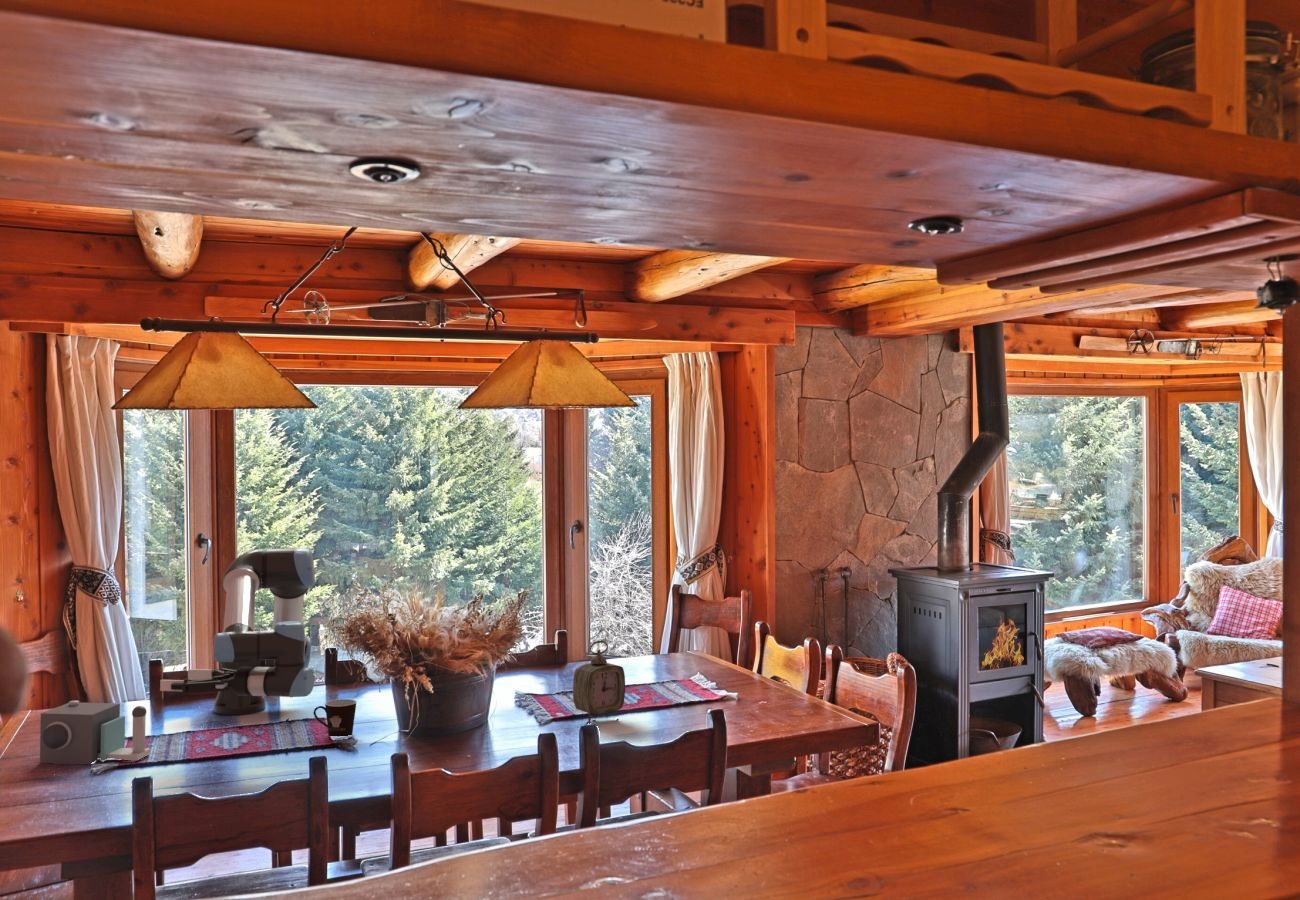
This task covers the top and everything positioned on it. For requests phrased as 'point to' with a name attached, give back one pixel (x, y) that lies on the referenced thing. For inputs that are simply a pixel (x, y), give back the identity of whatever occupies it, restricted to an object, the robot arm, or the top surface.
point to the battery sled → (116, 738)
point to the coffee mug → (339, 716)
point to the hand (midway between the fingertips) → (175, 679)
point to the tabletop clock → (599, 686)
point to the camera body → (74, 732)
